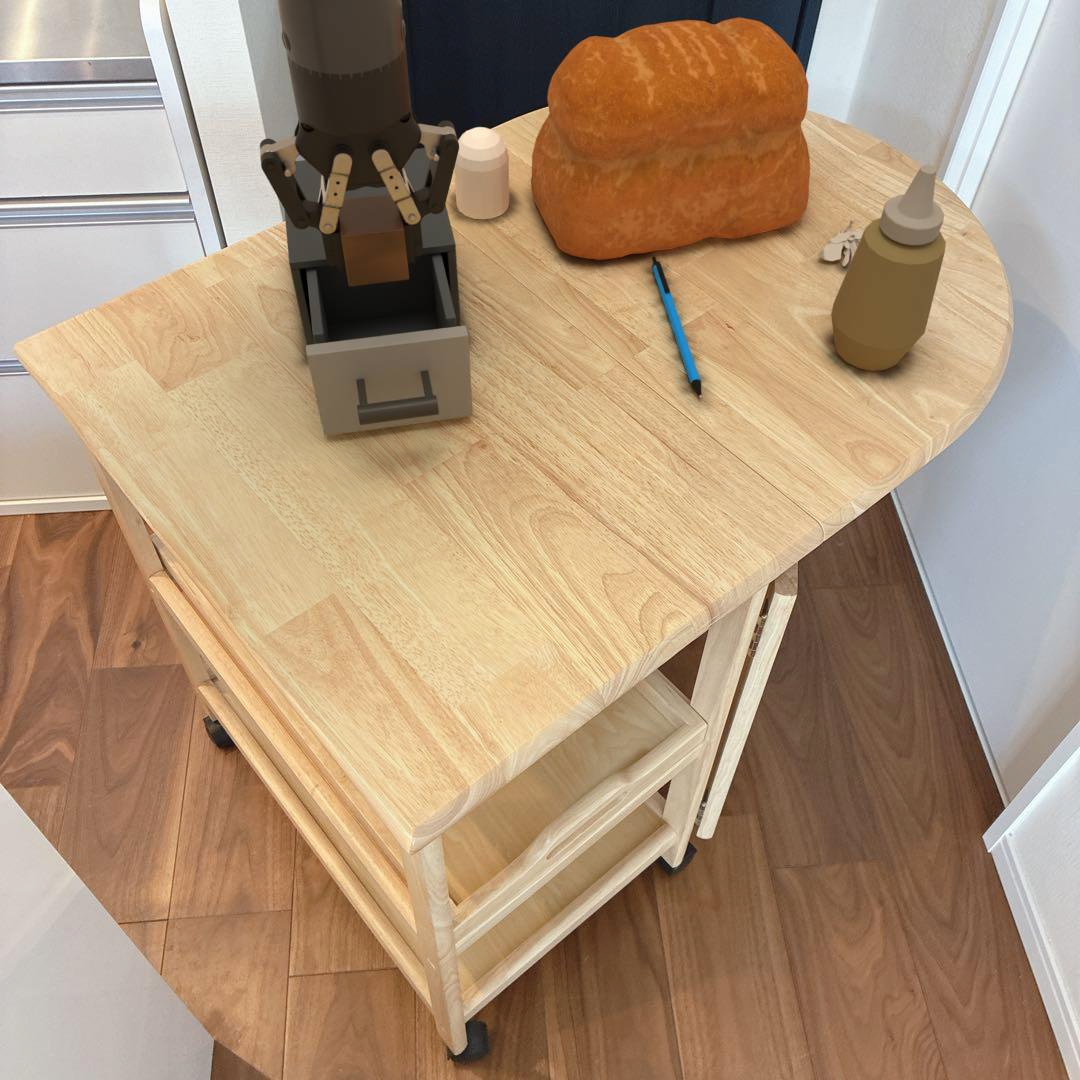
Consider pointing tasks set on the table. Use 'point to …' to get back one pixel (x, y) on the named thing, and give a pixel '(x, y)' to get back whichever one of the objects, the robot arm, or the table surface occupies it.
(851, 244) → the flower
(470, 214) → the white domed cylinder
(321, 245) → the cabinet
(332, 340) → the drawer
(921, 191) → the squeeze bottle
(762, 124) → the bread
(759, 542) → the table surface
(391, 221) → the block
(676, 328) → the pen
